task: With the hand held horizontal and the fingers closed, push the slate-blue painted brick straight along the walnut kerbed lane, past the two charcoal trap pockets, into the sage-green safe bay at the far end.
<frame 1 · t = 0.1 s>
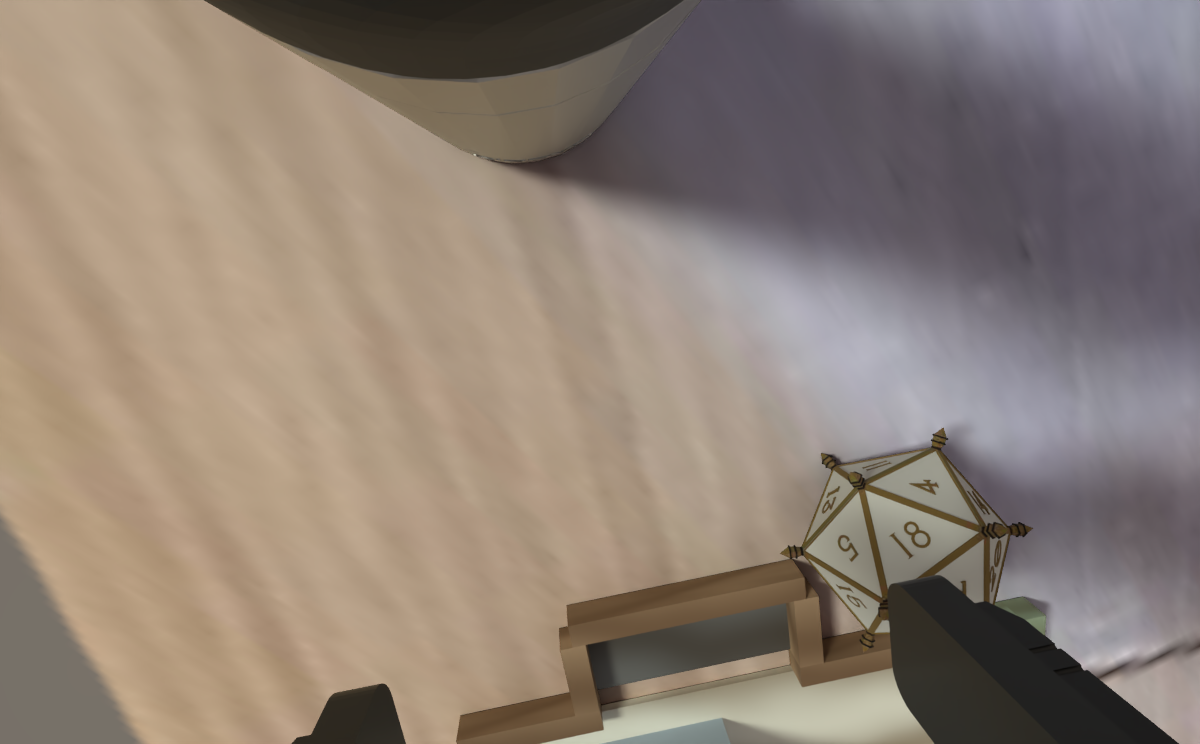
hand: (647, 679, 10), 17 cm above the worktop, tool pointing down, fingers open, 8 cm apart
game die: (853, 494, 29), on the worktop
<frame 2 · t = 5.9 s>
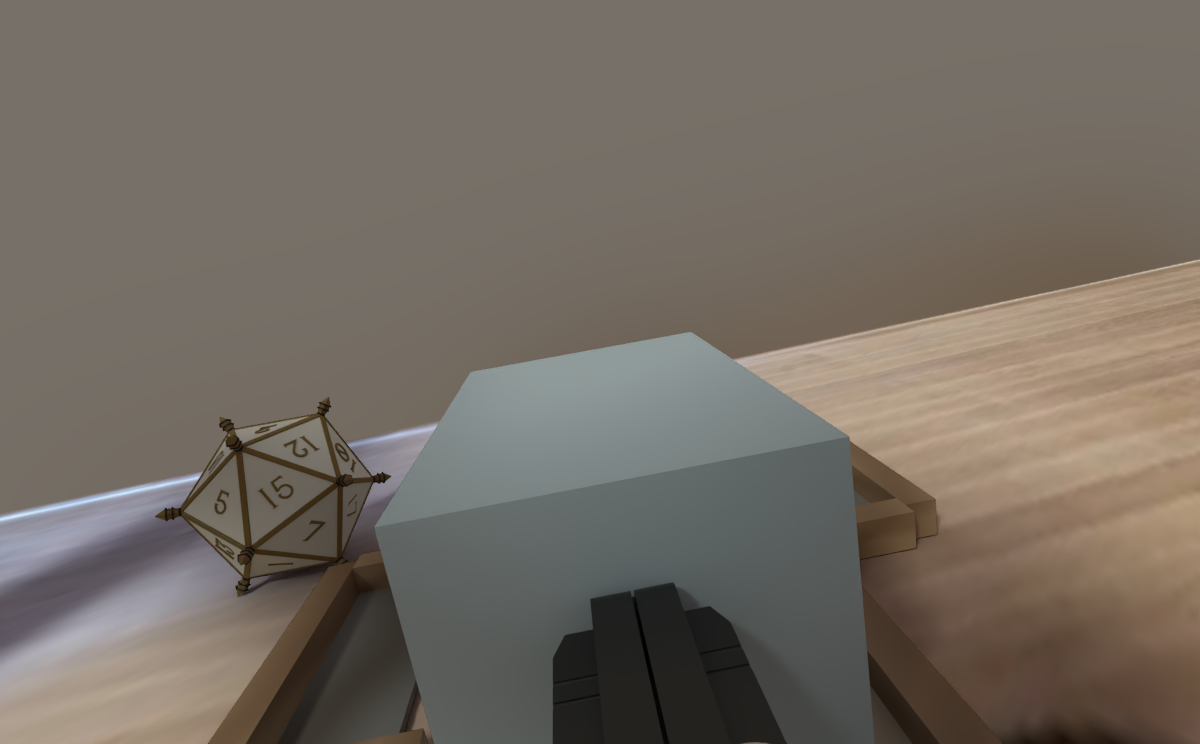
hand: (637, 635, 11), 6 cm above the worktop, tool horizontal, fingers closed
brick: (644, 684, 18), resting on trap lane
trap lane: (623, 587, 24), on the worktop
game die: (308, 572, 30), on the worktop
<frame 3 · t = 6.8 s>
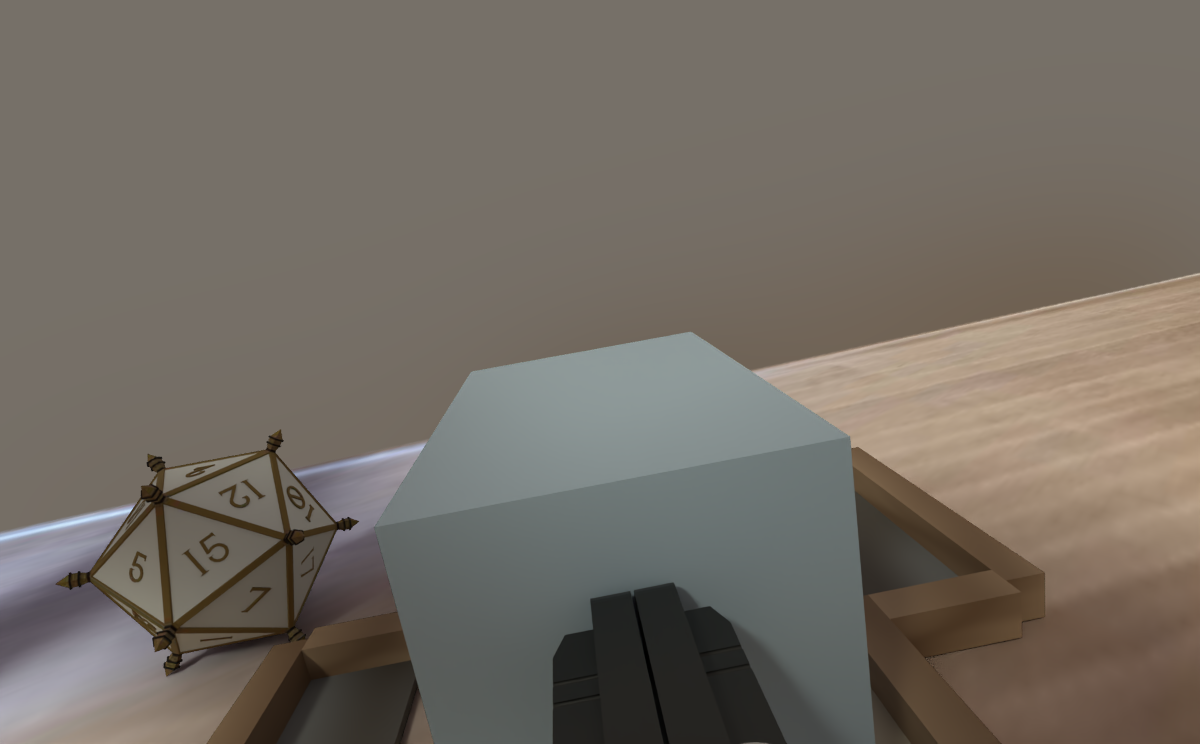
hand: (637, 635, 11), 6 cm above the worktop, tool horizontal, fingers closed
brick: (644, 683, 18), resting on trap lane, touching gripper
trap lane: (642, 684, 18), on the worktop
game die: (256, 641, 25), on the worktop
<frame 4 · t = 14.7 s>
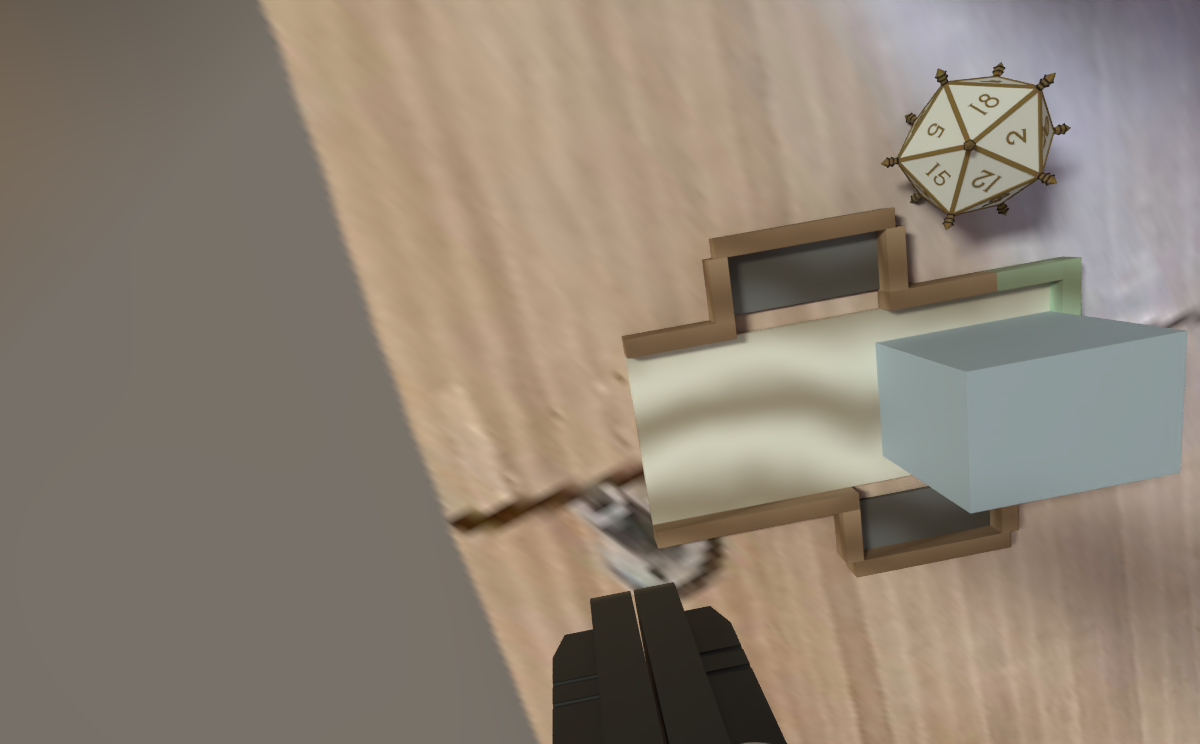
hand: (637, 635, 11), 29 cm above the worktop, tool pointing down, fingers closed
brick: (964, 384, 41), resting on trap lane
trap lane: (841, 403, 41), on the worktop
game die: (928, 156, 38), on the worktop
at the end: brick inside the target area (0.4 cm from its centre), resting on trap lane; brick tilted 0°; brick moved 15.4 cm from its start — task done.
